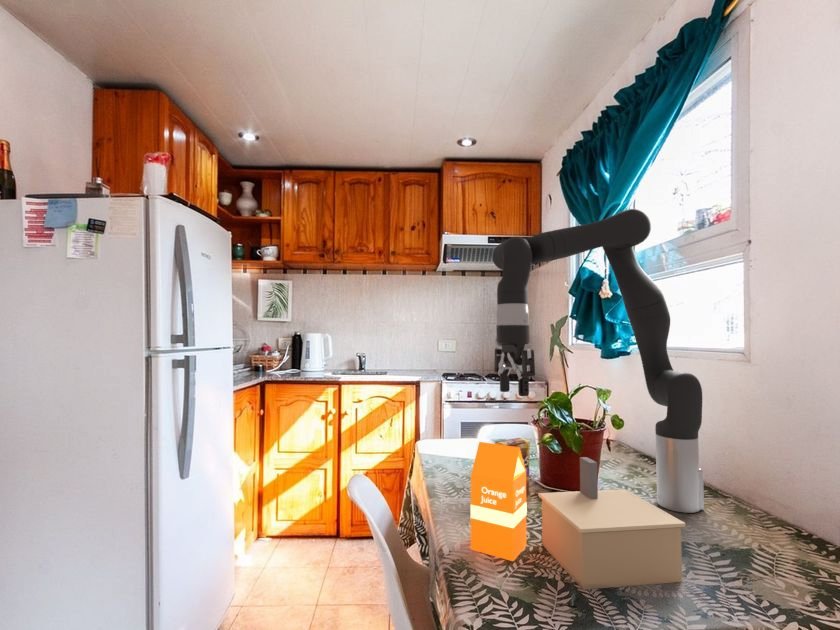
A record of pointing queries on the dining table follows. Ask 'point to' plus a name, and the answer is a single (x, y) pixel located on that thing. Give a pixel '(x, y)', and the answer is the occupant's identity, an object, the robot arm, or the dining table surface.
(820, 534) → the dining table surface
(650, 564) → the carton
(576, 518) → the carton lid
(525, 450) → the candy box
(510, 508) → the orange juice
